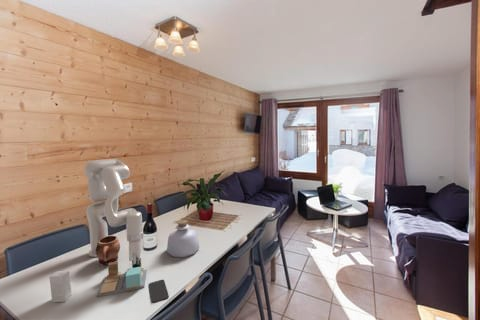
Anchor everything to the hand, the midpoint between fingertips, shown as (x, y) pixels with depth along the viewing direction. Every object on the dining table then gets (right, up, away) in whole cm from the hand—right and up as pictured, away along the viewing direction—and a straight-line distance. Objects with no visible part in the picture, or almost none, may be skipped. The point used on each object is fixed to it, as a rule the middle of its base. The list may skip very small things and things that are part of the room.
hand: (137, 269), depth 120 cm
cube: (+3, -2, -10) cm, 11 cm away
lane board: (-3, -4, -7) cm, 8 cm away
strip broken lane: (-10, -2, -5) cm, 11 cm away
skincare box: (-26, -5, -18) cm, 32 cm away
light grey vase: (+18, 0, +26) cm, 31 cm away
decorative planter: (-22, -2, +12) cm, 25 cm away
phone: (+16, -5, -13) cm, 21 cm away
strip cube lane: (+2, -2, -6) cm, 6 cm away
